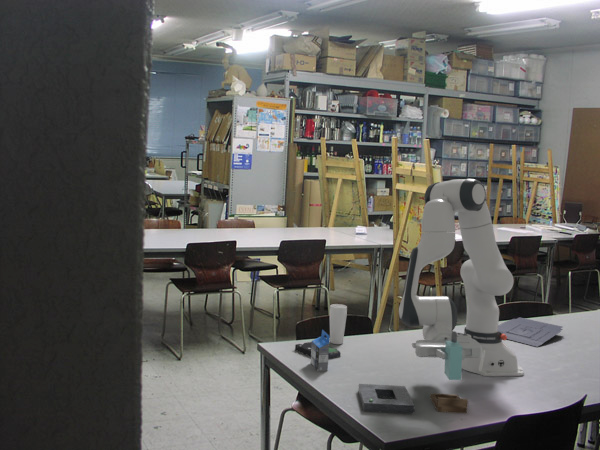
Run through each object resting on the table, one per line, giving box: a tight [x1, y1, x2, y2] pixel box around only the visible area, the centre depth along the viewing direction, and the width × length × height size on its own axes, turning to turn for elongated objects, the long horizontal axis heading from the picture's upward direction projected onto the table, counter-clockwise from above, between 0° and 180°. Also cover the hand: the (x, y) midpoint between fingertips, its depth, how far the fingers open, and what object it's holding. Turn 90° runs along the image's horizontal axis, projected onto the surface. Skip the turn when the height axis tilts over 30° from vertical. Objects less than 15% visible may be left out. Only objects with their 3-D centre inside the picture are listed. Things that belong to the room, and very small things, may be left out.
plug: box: [444, 330, 463, 381], centre depth 187 cm, size 4×6×14 cm, turn 0°
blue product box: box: [310, 329, 330, 372], centre depth 217 cm, size 9×4×12 cm, turn 16°
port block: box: [358, 383, 415, 415], centre depth 188 cm, size 14×16×3 cm
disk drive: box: [294, 341, 341, 360], centre depth 234 cm, size 10×3×15 cm
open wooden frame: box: [429, 392, 469, 414], centre depth 188 cm, size 8×11×4 cm
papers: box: [498, 317, 563, 348], centre depth 276 cm, size 24×30×4 cm
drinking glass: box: [329, 303, 348, 345], centre depth 248 cm, size 7×7×15 cm
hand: (453, 357), depth 187 cm, fingers closed on plug, 3 cm apart
